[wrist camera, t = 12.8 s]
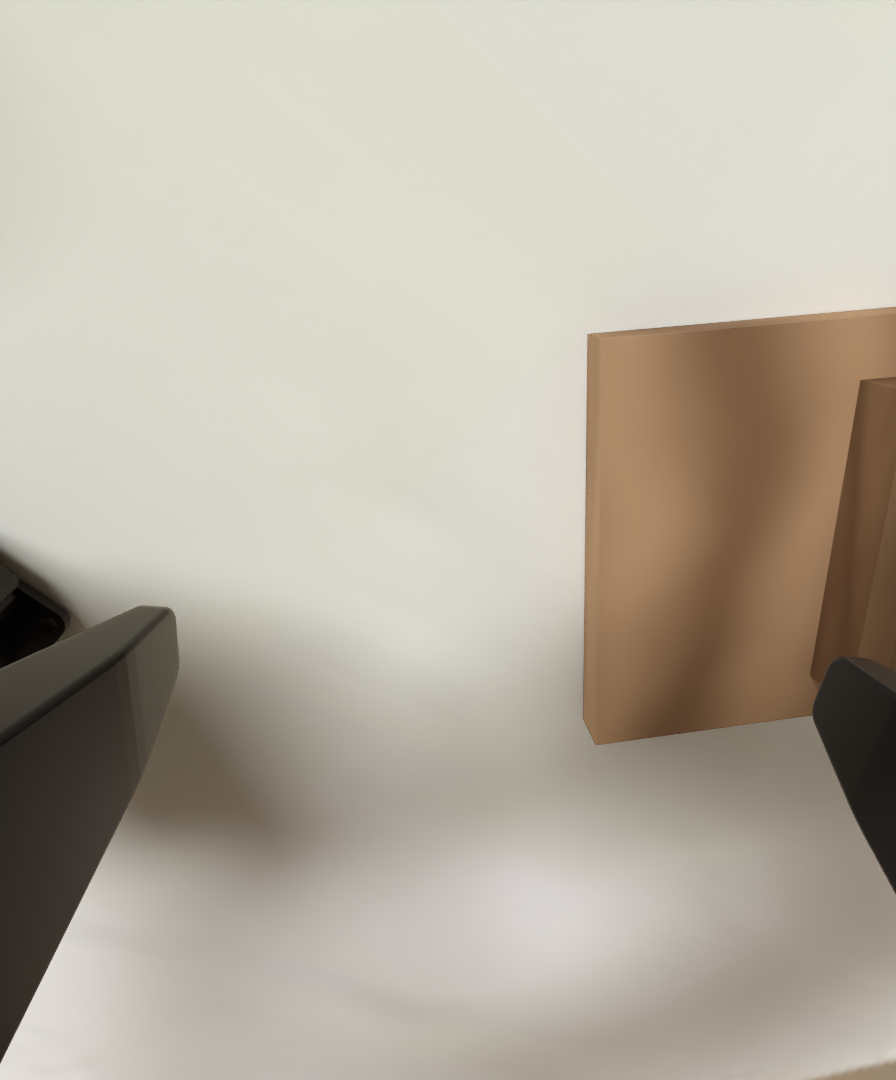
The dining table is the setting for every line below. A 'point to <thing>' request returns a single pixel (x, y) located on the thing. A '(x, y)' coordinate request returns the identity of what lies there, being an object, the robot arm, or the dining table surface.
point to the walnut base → (736, 518)
